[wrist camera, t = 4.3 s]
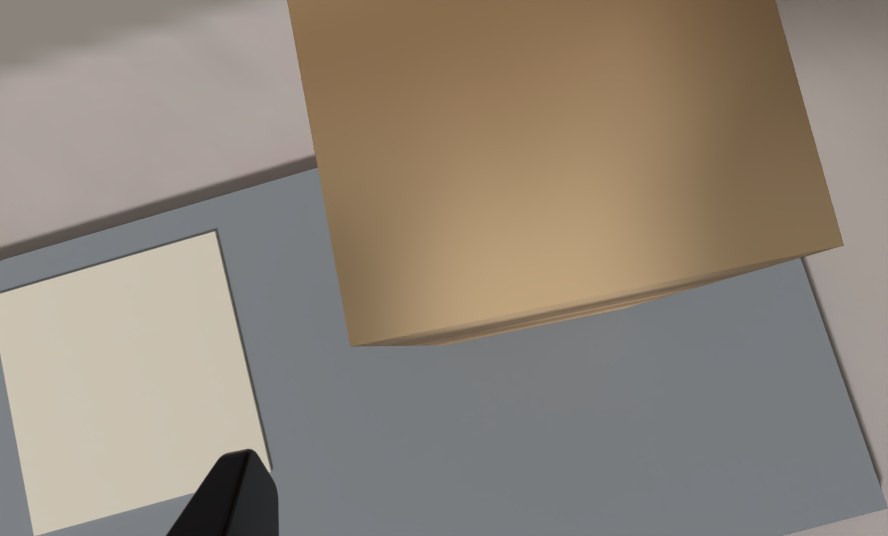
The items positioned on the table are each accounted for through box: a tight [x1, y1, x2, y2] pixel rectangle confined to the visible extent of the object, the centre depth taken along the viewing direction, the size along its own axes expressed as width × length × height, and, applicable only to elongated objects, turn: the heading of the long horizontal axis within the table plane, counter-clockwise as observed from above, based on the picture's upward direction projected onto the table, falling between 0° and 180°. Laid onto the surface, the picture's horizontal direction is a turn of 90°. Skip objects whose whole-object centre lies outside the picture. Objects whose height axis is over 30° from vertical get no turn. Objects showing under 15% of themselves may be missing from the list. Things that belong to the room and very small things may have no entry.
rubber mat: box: [0, 168, 888, 536], centre depth 19 cm, size 26×13×1 cm, turn 106°
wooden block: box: [287, 0, 844, 347], centre depth 13 cm, size 4×5×12 cm
